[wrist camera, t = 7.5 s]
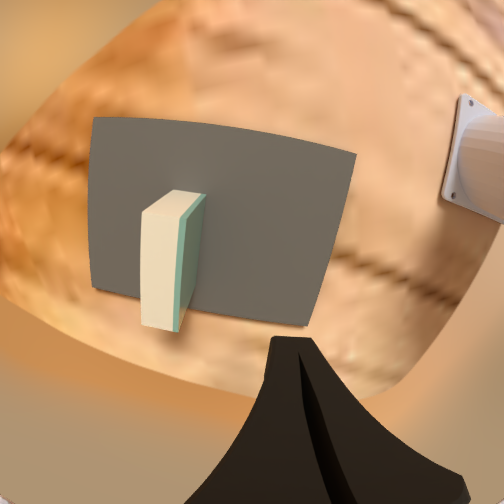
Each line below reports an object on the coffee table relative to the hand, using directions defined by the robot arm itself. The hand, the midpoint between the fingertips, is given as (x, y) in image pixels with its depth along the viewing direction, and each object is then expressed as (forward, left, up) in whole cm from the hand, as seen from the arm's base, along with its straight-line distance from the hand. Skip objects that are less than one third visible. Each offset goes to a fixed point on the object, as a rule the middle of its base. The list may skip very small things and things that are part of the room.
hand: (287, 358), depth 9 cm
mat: (+4, -1, -9) cm, 10 cm away
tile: (+5, 0, -9) cm, 11 cm away
